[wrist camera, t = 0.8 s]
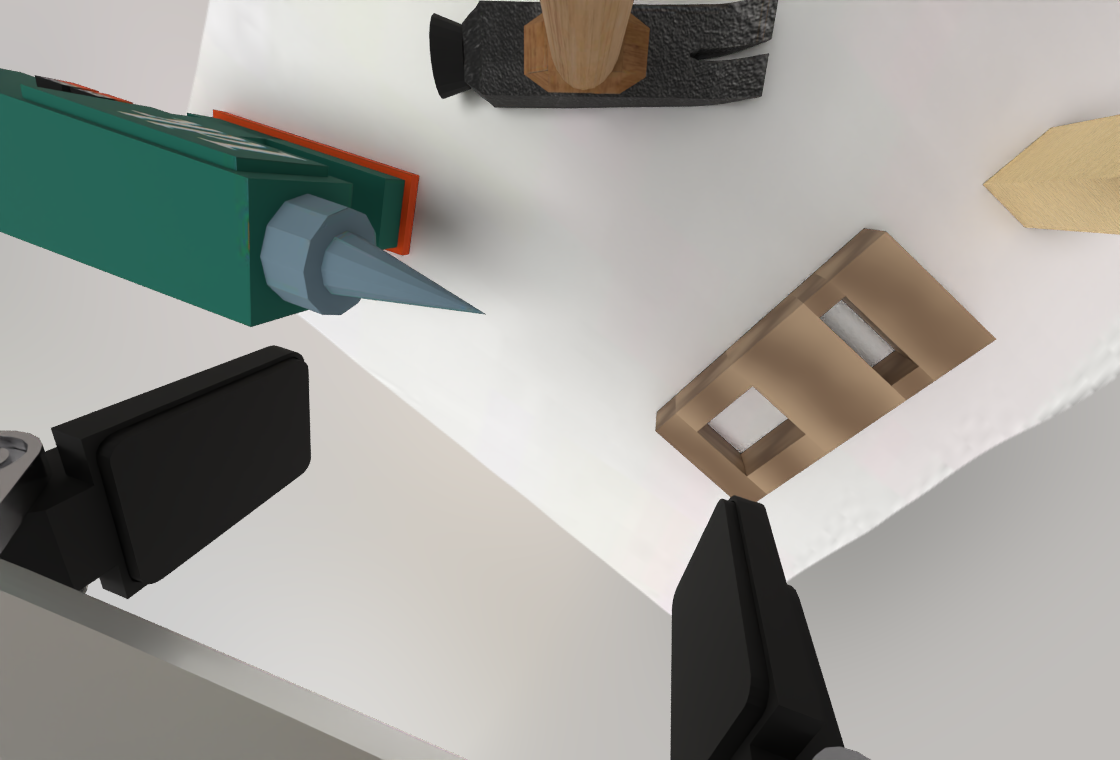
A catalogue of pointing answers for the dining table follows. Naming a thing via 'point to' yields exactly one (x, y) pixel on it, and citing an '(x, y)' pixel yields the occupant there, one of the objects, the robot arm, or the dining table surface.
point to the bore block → (823, 366)
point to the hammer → (602, 53)
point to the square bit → (1066, 179)
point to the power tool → (205, 205)
